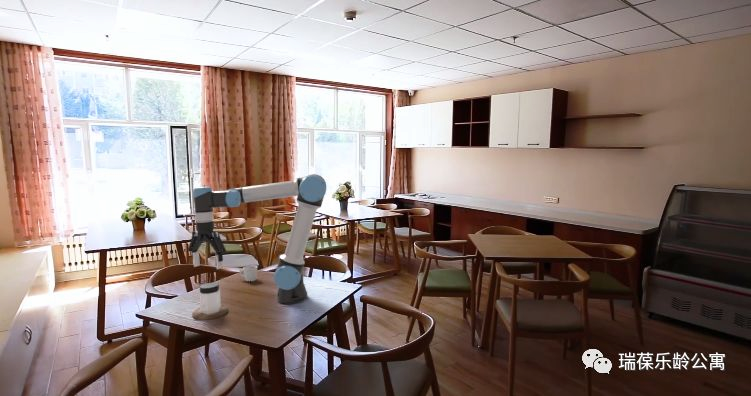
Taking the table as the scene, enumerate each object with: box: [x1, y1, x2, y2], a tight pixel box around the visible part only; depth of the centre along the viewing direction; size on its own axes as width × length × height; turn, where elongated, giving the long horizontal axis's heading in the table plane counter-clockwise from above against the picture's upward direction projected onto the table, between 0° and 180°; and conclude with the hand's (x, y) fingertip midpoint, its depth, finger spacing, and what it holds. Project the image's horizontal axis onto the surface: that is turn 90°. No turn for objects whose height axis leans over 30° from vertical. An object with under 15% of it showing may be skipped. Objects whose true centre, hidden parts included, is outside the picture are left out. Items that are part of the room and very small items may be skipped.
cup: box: [239, 264, 258, 282], centre depth 227 cm, size 11×8×8 cm
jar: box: [198, 282, 222, 314], centre depth 178 cm, size 9×8×12 cm
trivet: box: [192, 304, 229, 321], centre depth 179 cm, size 15×15×1 cm
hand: (208, 267), depth 176 cm, fingers open, 13 cm apart
